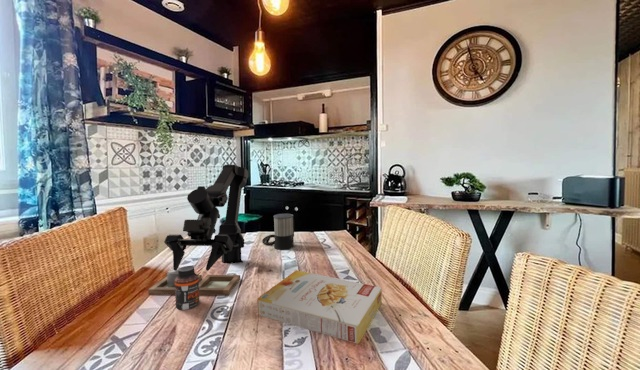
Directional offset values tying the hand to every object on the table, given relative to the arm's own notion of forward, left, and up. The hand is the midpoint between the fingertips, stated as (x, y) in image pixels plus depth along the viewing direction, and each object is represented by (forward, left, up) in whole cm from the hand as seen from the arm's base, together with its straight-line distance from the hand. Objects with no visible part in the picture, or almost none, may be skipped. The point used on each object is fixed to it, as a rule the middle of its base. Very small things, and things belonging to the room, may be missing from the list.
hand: (190, 270), depth 81 cm
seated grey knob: (+2, -13, -9) cm, 16 cm away
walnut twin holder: (-3, -9, -10) cm, 13 cm away
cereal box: (-27, +25, -11) cm, 38 cm away
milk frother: (-46, -33, -10) cm, 57 cm away
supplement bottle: (+2, +2, -10) cm, 10 cm away
